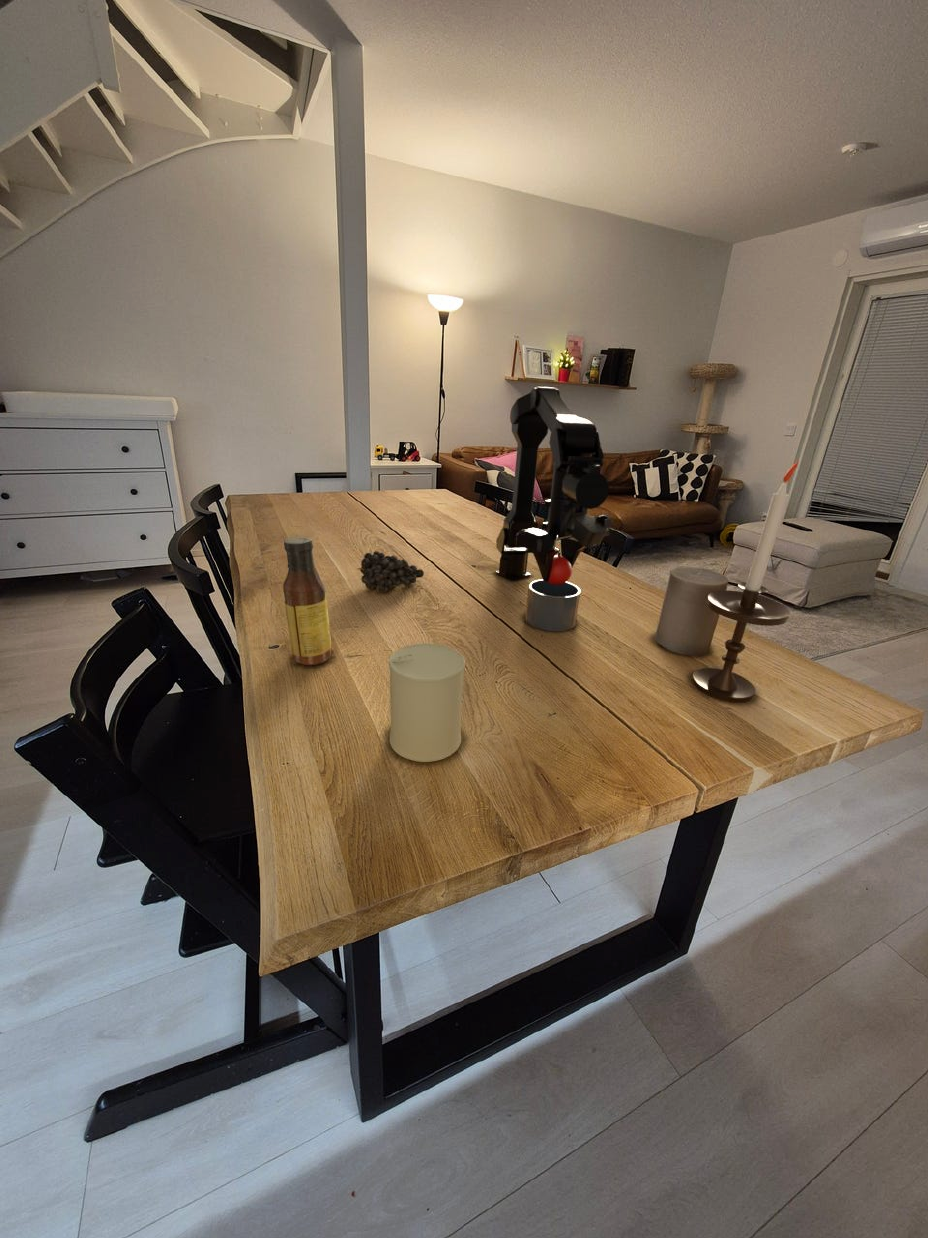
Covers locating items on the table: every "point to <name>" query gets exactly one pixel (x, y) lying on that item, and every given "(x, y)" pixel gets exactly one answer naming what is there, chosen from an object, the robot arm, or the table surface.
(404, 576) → the fruit
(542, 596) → the cup
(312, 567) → the sauce bottle
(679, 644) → the pillar candle
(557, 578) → the apple
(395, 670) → the can
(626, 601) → the table surface
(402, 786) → the table surface
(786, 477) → the candlestick
